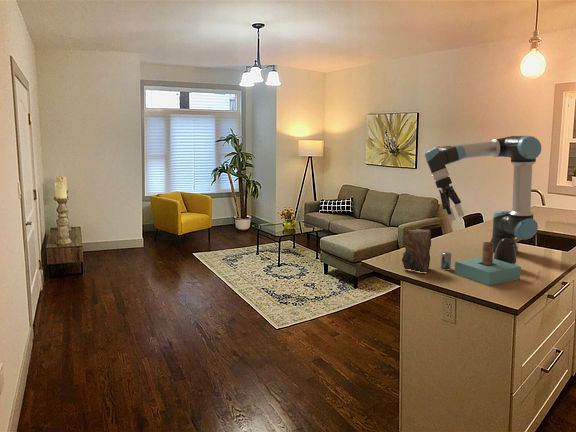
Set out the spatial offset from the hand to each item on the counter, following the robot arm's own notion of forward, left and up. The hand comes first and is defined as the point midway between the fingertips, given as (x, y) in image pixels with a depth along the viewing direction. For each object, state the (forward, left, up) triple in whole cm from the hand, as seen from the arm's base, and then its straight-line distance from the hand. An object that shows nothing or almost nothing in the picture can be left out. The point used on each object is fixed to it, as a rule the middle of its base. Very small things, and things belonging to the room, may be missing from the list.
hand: (457, 218), depth 227 cm
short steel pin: (+8, +2, -25) cm, 26 cm away
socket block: (0, +20, -25) cm, 32 cm away
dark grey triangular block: (-19, +14, -25) cm, 34 cm away
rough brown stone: (+22, -2, -25) cm, 33 cm away
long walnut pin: (0, +20, -25) cm, 31 cm away
